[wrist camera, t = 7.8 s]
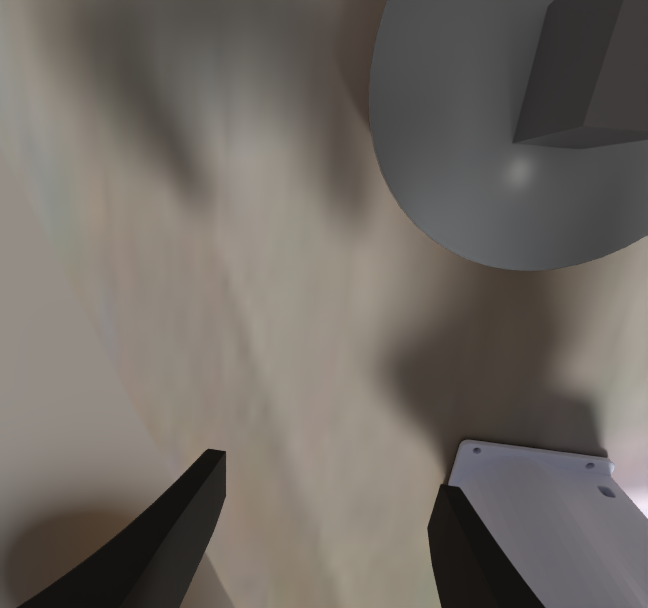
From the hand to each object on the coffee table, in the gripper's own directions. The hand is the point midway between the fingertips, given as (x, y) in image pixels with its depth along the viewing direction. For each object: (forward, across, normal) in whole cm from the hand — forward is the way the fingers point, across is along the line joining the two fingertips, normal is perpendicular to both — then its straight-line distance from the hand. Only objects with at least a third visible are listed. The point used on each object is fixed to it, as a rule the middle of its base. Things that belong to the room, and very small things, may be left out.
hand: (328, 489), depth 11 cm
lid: (+6, -6, -14) cm, 16 cm away
